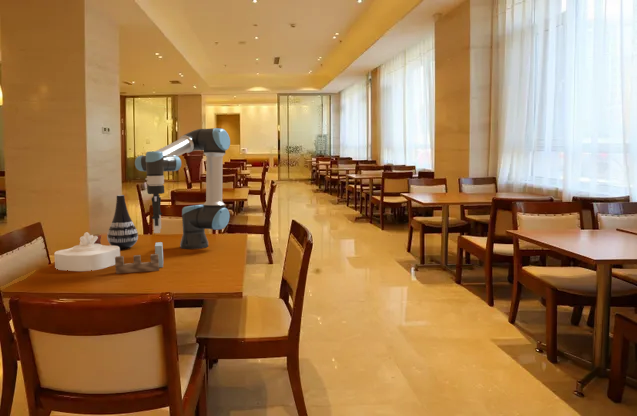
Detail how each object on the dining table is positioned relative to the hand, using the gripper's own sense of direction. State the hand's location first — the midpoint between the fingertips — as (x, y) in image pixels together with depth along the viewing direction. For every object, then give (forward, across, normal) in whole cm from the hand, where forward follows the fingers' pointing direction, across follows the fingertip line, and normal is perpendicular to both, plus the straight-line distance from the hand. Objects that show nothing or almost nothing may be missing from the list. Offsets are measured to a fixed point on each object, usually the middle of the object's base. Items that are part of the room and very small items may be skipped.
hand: (157, 230), depth 244 cm
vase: (+16, -52, -21) cm, 58 cm away
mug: (+16, -37, -35) cm, 54 cm away
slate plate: (+16, 0, 0) cm, 16 cm away
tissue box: (+17, -12, -32) cm, 39 cm away
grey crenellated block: (+16, +10, -9) cm, 21 cm away
